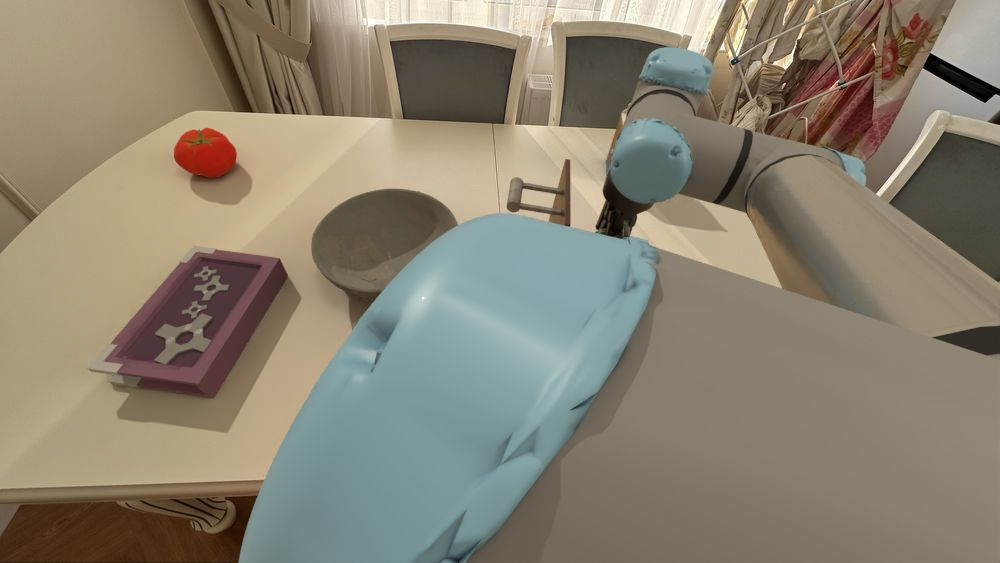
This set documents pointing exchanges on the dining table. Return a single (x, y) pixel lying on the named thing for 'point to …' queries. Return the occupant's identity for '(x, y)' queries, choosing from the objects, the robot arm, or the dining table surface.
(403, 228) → the bowl
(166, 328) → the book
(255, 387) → the dining table surface
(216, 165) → the tomato
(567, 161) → the bin lid
